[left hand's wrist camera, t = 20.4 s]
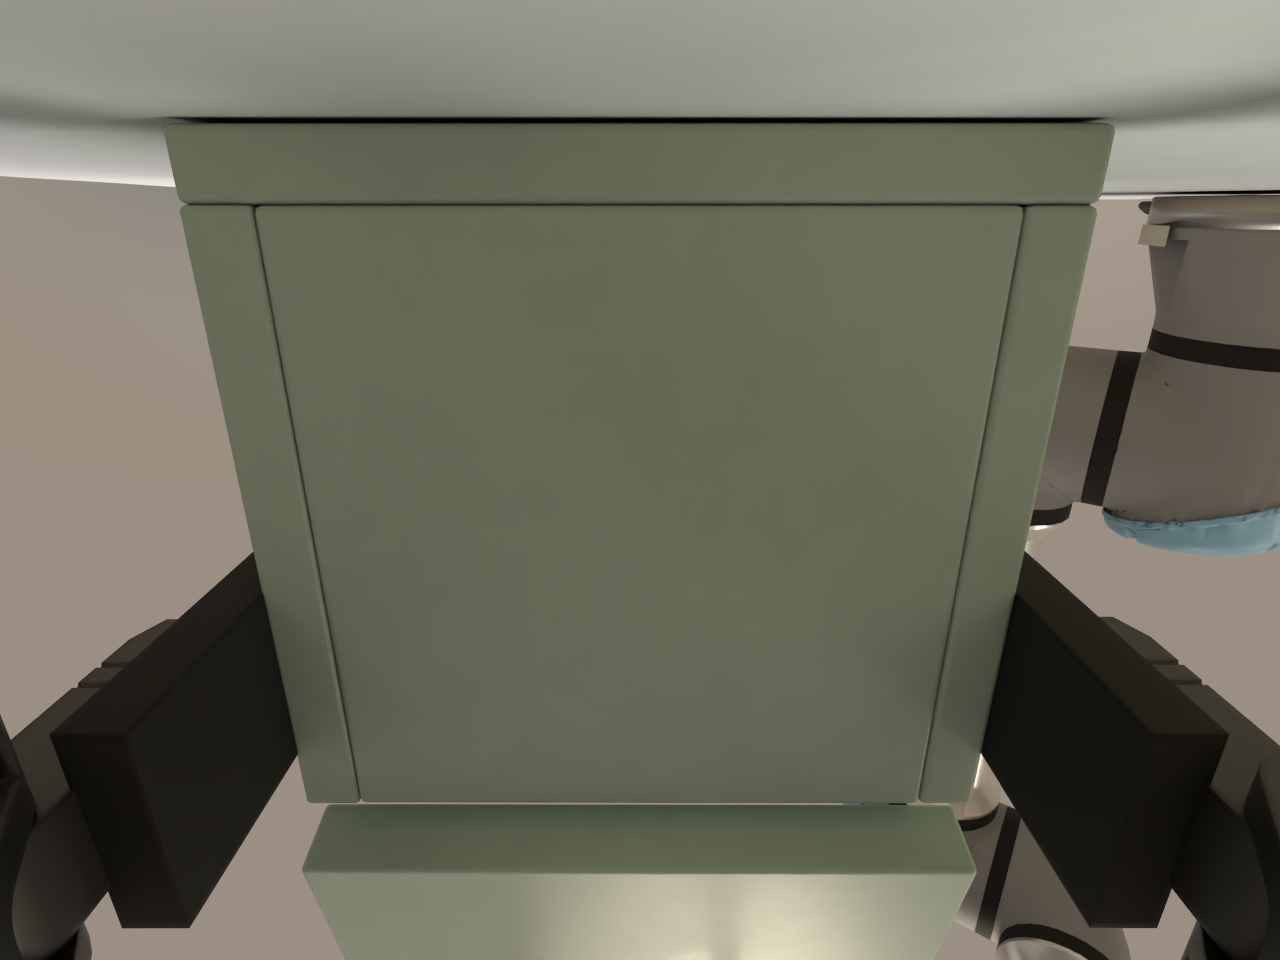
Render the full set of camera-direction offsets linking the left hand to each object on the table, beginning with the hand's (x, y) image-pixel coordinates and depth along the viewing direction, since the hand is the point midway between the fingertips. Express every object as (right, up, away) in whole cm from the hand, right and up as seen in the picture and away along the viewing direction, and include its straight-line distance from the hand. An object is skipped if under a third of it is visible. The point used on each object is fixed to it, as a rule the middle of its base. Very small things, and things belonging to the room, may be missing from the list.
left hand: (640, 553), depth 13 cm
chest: (0, +7, 0) cm, 8 cm away
